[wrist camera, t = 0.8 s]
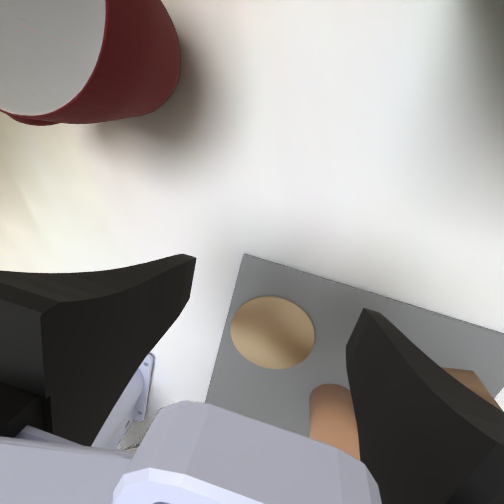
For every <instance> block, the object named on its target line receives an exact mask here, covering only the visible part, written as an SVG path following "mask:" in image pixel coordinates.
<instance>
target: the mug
mask: <svg viewBox="0 0 504 504" xmlns="http://www.w3.org/2000/svg"><path fill="white" fill-rule="evenodd" d="M180 65H181V55H180V46H179V41H178V37H177V33H176V30H175V27H174V25H173V22H172V20H171V18H170V16H169V14H168V12H167V10H166V8H165V7H164V5H163V3H162V1H161V0H0V111H1V112H3V113H6V114H7V115H8V116H10V117H11V118H13V119H14V120H16V121H18V122H20V123H24V124H29V125H36V126H46V125H53V124H58V123H68V124H91V123H99V122H105V121H111V120H118V119H124V118H130V117H136V116H141V115H145V114H148V113H150V112H152V111H154V110H156V109H158V108H159V107H160V106H162V105H163V104H164V103H165V102H166V101H167V100H168V98H169V97H170V96H171V94H172V93H173V91H174V89H175V87H176V85H177V82H178V78H179V74H180Z"/></svg>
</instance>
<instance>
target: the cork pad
mask: <svg viewBox="0 0 504 504" xmlns="http://www.w3.org/2000/svg"><path fill="white" fill-rule="evenodd" d="M231 337H232V341H233V343H234V345H235V347H236V349H237V350H238V351H239V353H240V354H241V355H242V356H243V357H245V358H246V359H247V360H249V361H250V362H252V363H254V364H256V365H258V366H260V367H264V368H268V369H286V368H290V367H293V366H295V365H297V364H299V363H301V362H302V361H303V360H305V359H306V358H307V357H308V355H309V354H310V352H311V350H312V348H313V345H314V327H313V324H312V322H311V320H310V318H309V316H308V315H307V313H306V312H305V311H304V310H303V309H302V308H301V307H300V306H298V305H297V304H295V303H294V302H292V301H290V300H288V299H285V298H282V297H278V296H260V297H256V298H253V299H250V300H249V301H247V302H245V303H244V304H242V305H241V306H240V307H239V309H238V310H237V311H236V313H235V315H234V317H233V319H232V322H231Z"/></svg>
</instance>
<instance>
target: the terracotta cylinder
mask: <svg viewBox="0 0 504 504" xmlns="http://www.w3.org/2000/svg"><path fill="white" fill-rule="evenodd" d="M309 435H310V438H312V439H315V440H318V441H321V442H323V443H326V444H329V445H332V446H335V447H337V448H338V449H340V450H342V451H344V452H345V453H347V454H349V455H351V456H352V457H354V458H356V459H358V460H359V461H360V451H359V439H358V430H357V423H356V418H355V413H354V407H353V402H352V397H351V392H350V391H349V390H348V389H347V388H345V387H343V386H341V385H337V384H323V385H320V386H318V387H316V388H315V389H313V391H312V392H311V394H310V396H309Z"/></svg>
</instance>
